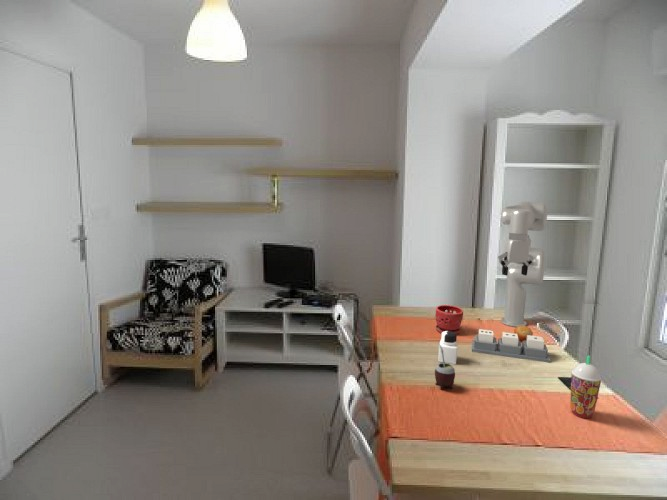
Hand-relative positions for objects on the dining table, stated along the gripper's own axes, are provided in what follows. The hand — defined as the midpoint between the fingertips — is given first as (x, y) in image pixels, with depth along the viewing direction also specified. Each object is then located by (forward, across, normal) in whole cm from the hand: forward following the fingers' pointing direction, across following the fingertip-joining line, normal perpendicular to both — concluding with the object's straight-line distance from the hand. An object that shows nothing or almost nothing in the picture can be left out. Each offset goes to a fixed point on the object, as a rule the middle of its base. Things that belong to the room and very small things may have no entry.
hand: (514, 274), depth 189 cm
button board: (+33, +6, +9) cm, 34 cm away
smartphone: (+34, 0, +42) cm, 54 cm away
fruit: (+32, -9, -2) cm, 34 cm away
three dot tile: (+29, +14, +4) cm, 33 cm away
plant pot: (+33, +21, -18) cm, 43 cm away
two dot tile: (+29, +6, +9) cm, 31 cm away
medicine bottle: (+34, +36, +12) cm, 51 cm away
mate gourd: (+35, +48, +33) cm, 68 cm away
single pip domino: (+29, -3, +14) cm, 32 cm away
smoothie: (+35, +11, +58) cm, 68 cm away
